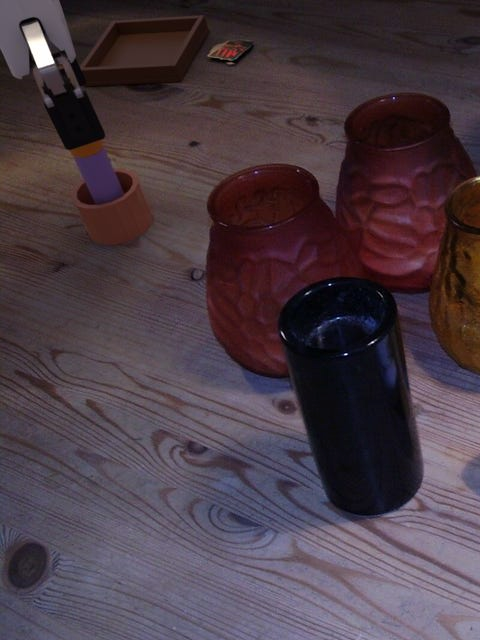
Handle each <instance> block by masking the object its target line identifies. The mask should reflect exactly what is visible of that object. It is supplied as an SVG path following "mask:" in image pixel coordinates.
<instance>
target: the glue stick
mask: <svg viewBox="0 0 480 640" xmlns="http://www.w3.org/2000/svg"><path fill="white" fill-rule="evenodd" d="M69 152H70V154H71V156H72V158H73V160H74V162H75V165H76V166H77V167H78V171H79V172H80V175H81V176H82V180H83V179H84V181H85V183H86V185H87V187H88V189H89V192H90V194H91V196H92V198H93V200H94V202H95V204H96V205H101V204H105V203H109V202H112V201H114V200H116V199H118V198H120V197H122V196H123V195H124V192H123V190H122V187H121V185H120V183H119V181H118V178H117V176H116V174H115V171H114V169H115V168H114V167H113V165H112V163H111V160H110V158H109V156H108V154H107V151H106V149H105V146H104V143H103V139H102V140H99V141H96V142H93V143H90V144H87V145H84V146H81V147H78V148H75V149H72V150H69Z"/></svg>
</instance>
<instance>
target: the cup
mask: <svg viewBox="0 0 480 640" xmlns="http://www.w3.org/2000/svg"><path fill="white" fill-rule="evenodd" d="M113 169H114V171H115V174H116V176H117V178H118V181H119V183H120V185H121V187H122V190H123V192H124V195H123V196H122V197H120V198H118V199H116V200H114V201H112V202H109V203H105V204H101V205H96V204H95V202H94V200H93V198H92V196H91V194H90V192H89V189H88V187H87V185H86V183H85V181H84V179H83V178H82V180H81V181H80V182H79V183H77V184H76V185H75V186H74V187H73V190H72V191H71V202H72V204H73V206H74V208H75V210H76V212H77V214H78V216H79V219H80V221H81V223H82V224H83V227H84V229H85V231H86V233H87V235H88V237H90V239H91V241H93V242H94V243H96V244H98V245H102V246H116V245H122V244H125V243H129V242H131V241H134V240H135V239H138V238H139V237H140V236H142V235H144V234H145V233H146V232H147V231H148V230H149V229H150V228H151V226H152V225H153V222H154V219H155V218H154V212H153V209H152V206H151V205H150V202H149V200H148V198H147V197H148V196H147V195H146V192H145V190H144V188H143V185H142V183H141V180H140V178H139V176H138V175H137V174H136V173H135V172H134V171H133V170H130V169H126V168H123V167H121V168H113Z"/></svg>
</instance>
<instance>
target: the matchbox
mask: <svg viewBox="0 0 480 640" xmlns="http://www.w3.org/2000/svg"><path fill="white" fill-rule="evenodd" d="M253 45H254V40H251V39H250V40H248V39H240V38H237V39H234V40H233V39H232V40H229V39H228V40H227V41H226V42H225V41H224V43H217V44H216V45H213V46H212V48H211V49H210V51H209V54H207V57H208V58H215V59H220V60H227V61H229V62H227V61H226V62H225V64H227V65H228V66H230V65H235V66H236V63H234V62H232V61H234V60H237V59H239V57H240V56H242V54H244V53H245V54H247V52H245V51H248V50H249V49H250V48H251V47H252V46H253Z"/></svg>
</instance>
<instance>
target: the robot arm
mask: <svg viewBox="0 0 480 640" xmlns="http://www.w3.org/2000/svg"><path fill="white" fill-rule="evenodd" d="M0 51H1V53H2V55H3V57H4V60H5V62H6V64H7V67H8V68H9V71H10V73H11V75H12V77H14V78H16V79H17V80H24V76H28V75H30V72H31V73H32V75H33V77H34V80H35V82H36V85H37V87H38V89H39V92H40V94H41V96H42V98H43V101H44V104H43V105H44V108H45V110H46V113H47V115H48V117H49V119H50V120H51V122H52V125H53V127H54V129H55V130H56V133H57V134H58V137H59V139H60V141H61V143H62V145H63V147H64V148H65V149H66V150H68V151H70V150H72V149H75V148H78V147H81V146H84V145H87V144H90V143H93V142H96V141H99V140H102V141H103V139H105V137H106V132H105V130H104V128H103V126H102V124H101V121H100V119H99V117H98V115H97V113H96V110H95V107H94V105H93V104H92V101H91V99H90V97H89V94H88V93H87V90H86V89H85V90H82V87H84V85H85V83H86V80H85V77H84V75H83V73H82V71H81V69H80V66H81V65H80V64H79V62H78V59H77V54H76V50H75V47H74V44H73V40H72V37H71V33H70V30H69V27H68V22H67V20H66V17H65V14H64V11H63V8H62V4H61V2H60V0H0Z"/></svg>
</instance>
